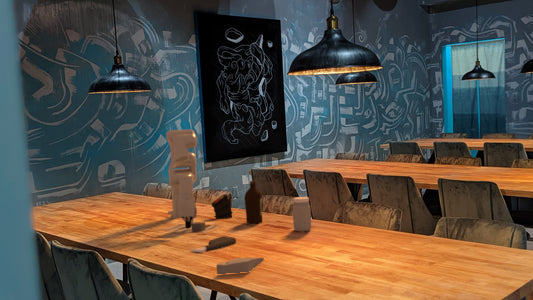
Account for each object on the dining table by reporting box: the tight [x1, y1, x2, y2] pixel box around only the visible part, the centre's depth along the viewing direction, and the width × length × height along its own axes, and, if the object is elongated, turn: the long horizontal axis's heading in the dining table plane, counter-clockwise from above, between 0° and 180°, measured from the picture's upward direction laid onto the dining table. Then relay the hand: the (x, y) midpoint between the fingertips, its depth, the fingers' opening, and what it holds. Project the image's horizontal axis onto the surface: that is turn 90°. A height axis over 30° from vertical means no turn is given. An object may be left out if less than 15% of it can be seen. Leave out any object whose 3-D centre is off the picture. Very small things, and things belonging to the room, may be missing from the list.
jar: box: [292, 196, 312, 232], centre depth 302 cm, size 10×10×18 cm
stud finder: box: [192, 221, 206, 231], centre depth 310 cm, size 6×5×5 cm
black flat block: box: [211, 194, 233, 220], centre depth 347 cm, size 4×13×15 cm, turn 129°
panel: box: [162, 223, 221, 236], centre depth 316 cm, size 28×20×1 cm
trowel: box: [216, 257, 265, 275], centre depth 234 cm, size 28×16×5 cm, turn 139°
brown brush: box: [190, 236, 237, 254], centre depth 274 cm, size 3×11×24 cm
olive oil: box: [244, 180, 263, 225], centre depth 330 cm, size 11×11×25 cm
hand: (188, 227), depth 312 cm, fingers closed
